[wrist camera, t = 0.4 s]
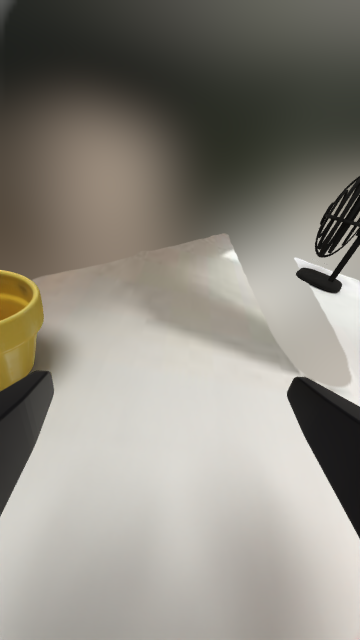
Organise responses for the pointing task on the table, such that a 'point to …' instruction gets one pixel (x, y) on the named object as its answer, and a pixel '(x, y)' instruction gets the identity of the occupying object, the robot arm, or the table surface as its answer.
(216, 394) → the table surface
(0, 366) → the plant pot
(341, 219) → the desk fan
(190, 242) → the table surface
